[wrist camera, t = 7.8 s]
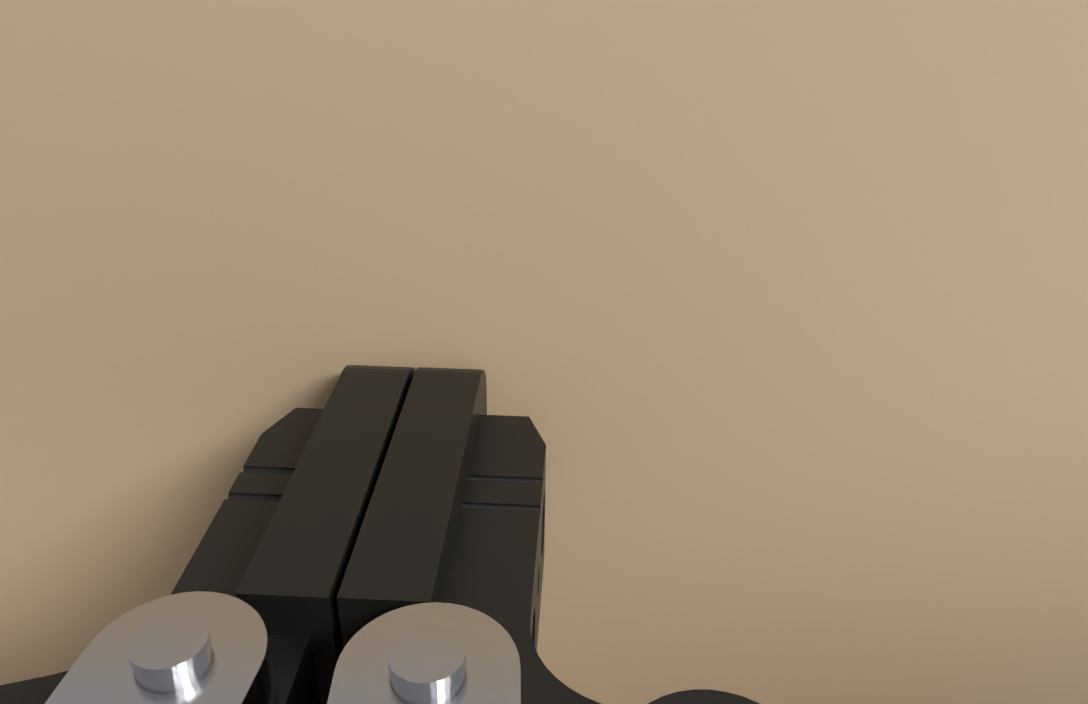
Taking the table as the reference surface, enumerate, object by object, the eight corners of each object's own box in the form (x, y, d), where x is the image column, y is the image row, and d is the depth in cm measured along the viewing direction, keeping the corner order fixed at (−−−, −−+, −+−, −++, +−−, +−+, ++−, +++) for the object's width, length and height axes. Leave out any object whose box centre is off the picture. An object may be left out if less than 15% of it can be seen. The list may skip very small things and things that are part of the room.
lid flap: (1100, 907, 13) (1084, 873, 14) (1629, -289, 7) (1568, -278, 7) (-123, 814, 14) (-101, 787, 15) (-631, -291, 8) (-564, -283, 8)
